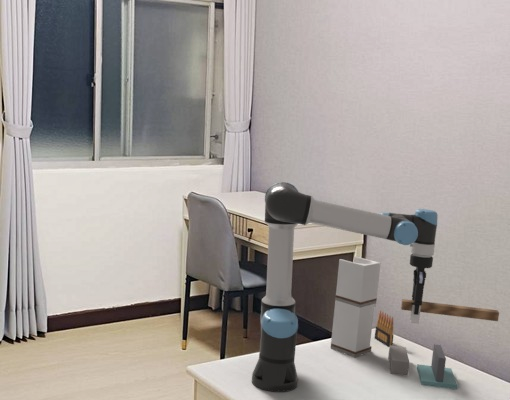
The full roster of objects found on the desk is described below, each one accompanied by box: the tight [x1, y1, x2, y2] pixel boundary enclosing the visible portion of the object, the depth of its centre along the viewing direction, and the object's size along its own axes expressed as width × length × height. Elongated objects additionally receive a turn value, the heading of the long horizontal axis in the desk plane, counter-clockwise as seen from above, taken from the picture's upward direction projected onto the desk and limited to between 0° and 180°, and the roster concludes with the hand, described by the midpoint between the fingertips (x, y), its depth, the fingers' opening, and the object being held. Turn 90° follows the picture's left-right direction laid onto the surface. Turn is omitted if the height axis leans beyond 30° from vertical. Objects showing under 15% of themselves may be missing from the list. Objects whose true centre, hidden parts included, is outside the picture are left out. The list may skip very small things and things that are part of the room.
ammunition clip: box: [374, 310, 394, 348], centre depth 280 cm, size 11×2×12 cm, turn 22°
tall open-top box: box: [330, 256, 381, 358], centre depth 266 cm, size 11×11×35 cm
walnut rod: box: [400, 298, 500, 322], centre depth 239 cm, size 32×3×3 cm, turn 81°
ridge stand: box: [416, 344, 459, 390], centre depth 246 cm, size 12×16×10 cm
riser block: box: [387, 345, 410, 377], centre depth 254 cm, size 6×16×5 cm, turn 172°
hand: (414, 321), depth 241 cm, fingers closed on walnut rod, 3 cm apart
